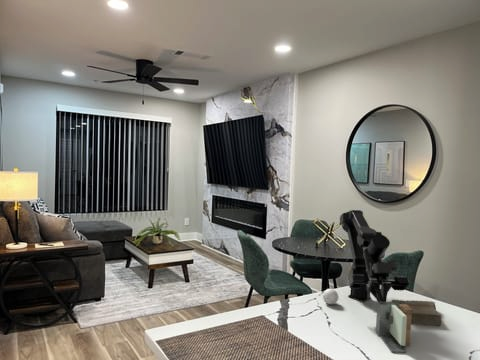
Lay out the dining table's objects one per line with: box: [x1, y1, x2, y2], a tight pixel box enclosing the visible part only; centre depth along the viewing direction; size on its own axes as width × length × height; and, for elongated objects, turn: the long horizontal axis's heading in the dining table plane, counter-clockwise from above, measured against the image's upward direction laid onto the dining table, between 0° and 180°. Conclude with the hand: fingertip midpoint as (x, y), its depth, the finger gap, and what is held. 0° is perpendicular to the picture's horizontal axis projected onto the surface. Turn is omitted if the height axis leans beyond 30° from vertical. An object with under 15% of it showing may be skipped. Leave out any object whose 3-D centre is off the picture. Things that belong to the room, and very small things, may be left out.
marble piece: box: [390, 299, 443, 327], centre depth 125 cm, size 17×15×4 cm
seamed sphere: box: [322, 288, 340, 305], centre depth 132 cm, size 8×6×6 cm
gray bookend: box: [375, 300, 407, 354], centre depth 105 cm, size 12×8×10 cm
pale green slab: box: [389, 305, 407, 347], centre depth 104 cm, size 8×2×8 cm, turn 179°
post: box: [399, 304, 413, 348], centre depth 105 cm, size 4×2×11 cm, turn 178°
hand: (384, 306), depth 116 cm, fingers closed
